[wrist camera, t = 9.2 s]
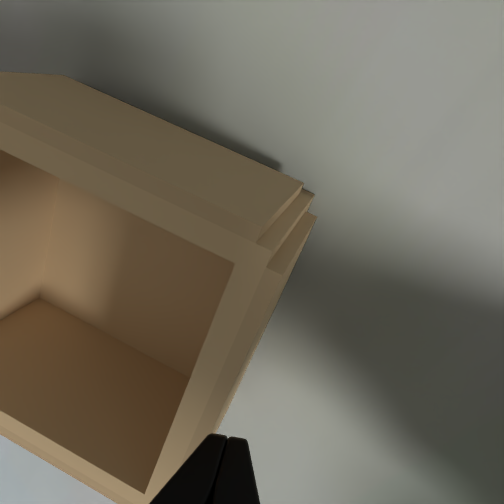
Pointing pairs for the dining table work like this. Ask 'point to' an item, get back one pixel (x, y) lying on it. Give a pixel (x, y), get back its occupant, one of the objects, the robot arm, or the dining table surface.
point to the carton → (129, 281)
